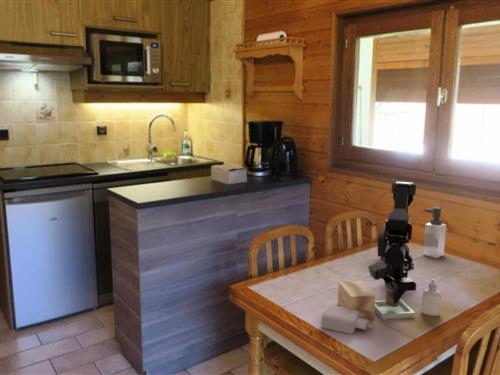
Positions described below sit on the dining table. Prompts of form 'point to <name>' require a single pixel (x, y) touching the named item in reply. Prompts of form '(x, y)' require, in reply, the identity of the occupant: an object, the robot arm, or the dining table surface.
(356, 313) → the grey plastic bottle
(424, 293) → the eye dropper bottle
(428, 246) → the soap dispenser
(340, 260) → the dining table surface
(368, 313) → the pine unit
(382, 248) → the milk frother
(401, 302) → the green tray
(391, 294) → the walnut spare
